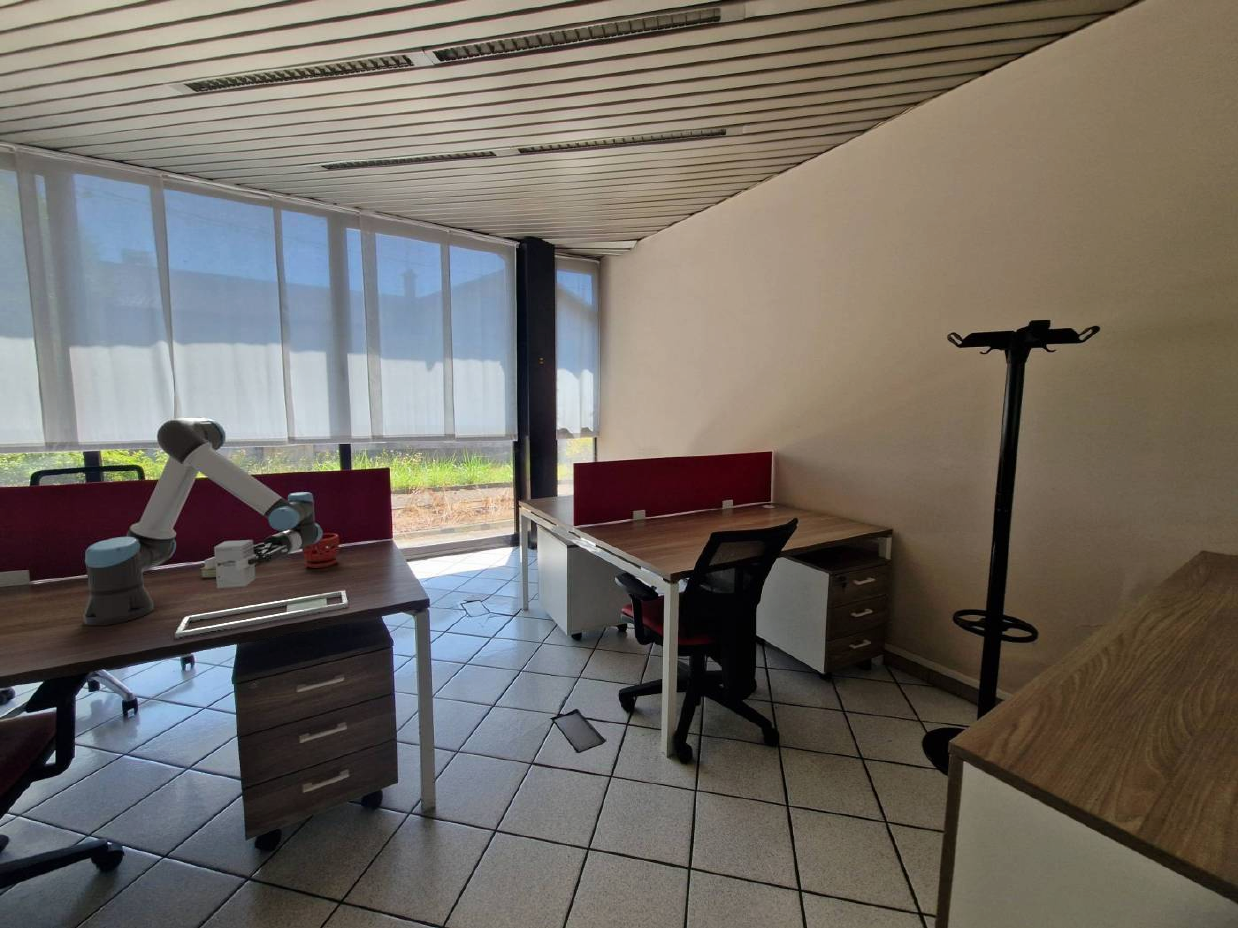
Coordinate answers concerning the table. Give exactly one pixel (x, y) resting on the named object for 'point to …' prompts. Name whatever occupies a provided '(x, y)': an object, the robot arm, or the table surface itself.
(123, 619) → the robot arm
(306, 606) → the pad
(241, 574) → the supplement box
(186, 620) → the rail track
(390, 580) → the table surface
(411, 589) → the table surface
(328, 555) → the plant pot
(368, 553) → the table surface
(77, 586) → the table surface
